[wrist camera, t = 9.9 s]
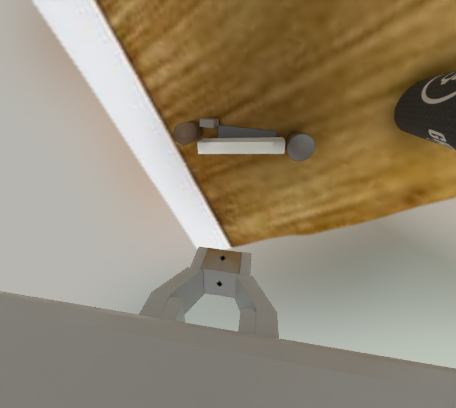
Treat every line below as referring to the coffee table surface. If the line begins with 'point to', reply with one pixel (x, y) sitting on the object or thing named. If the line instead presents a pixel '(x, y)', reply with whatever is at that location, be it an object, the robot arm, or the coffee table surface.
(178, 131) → the brown rounded cylinder
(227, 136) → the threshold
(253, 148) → the white long block
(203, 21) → the coffee table surface
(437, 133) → the coffee cup
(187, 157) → the coffee table surface
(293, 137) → the hinge post
